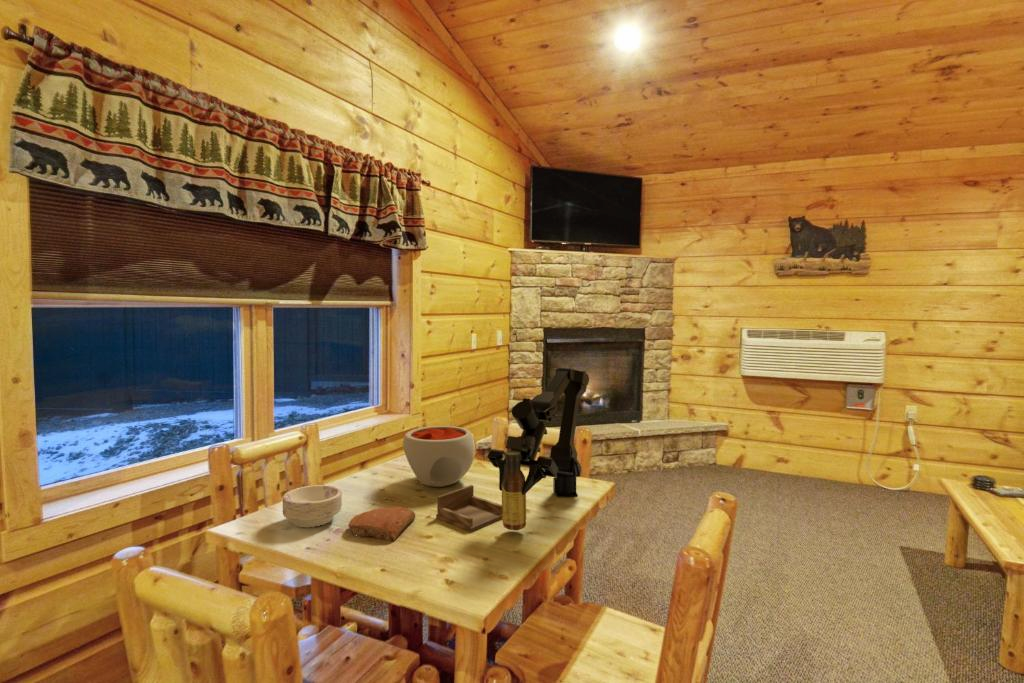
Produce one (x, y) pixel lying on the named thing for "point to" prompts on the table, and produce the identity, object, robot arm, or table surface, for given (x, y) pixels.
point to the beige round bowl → (312, 505)
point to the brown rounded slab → (382, 522)
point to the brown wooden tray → (467, 509)
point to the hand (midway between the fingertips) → (511, 491)
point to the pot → (439, 454)
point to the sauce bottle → (513, 493)
